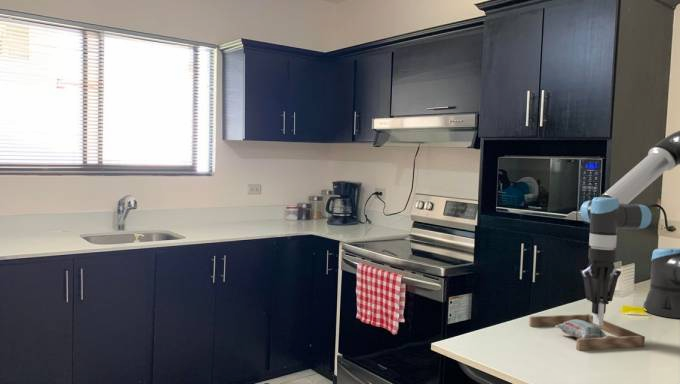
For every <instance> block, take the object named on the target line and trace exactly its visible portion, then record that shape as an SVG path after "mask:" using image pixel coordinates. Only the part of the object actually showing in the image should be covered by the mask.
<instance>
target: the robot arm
mask: <svg viewBox="0 0 680 384" xmlns="http://www.w3.org/2000/svg"><path fill="white" fill-rule="evenodd" d="M677 166H680V130H678V131H677V130H676V131H674V132H673V133H671V134H669V135H668V136H666V137H665V138H663V139H662V140H660V141H659V142H657V143H656V144H655V145H653V147H651V148H650V149H649V150H648V153H647V155H646V156H645V158H643V159H642V160H641V161H640V162H639V163H638V164H636V165H635V166H634V167H632V169H630V170H629V171H628V172H627V173H626V174H624V176H622V177H621V178H620V179H619V180H617V181H616V182H615V183H614V184H613V185H612V186H611V187H610V188H608V189H607V190H606V191H605V192H604V193H602V194H601V196H598V197H597V196H596V197H593V199H591V200H586V201H584V202H583V203H582V205H581V206H580V209H579V212H580V217H581V218H582V220H584V222H587V223H589V239H588V246H589V248H588V256H587V257H588V261H589V262H588V265H587V268H586V269H581V270H580V274H581V276H582V278H583V280H582V281H583V285H584V292H585V297H586V300H587V301H588V302H591V313H592V316H593V323H594V324H597V325H603V320H604V316H605V315H604V314H606V310H607V305H609V304H610V302H612V301H613V298H614V295H615V292H616V287H617V282H618V279H619V277H620V276H621V273H622V271H621V270H617V269H616V268H615V264H614V263H615V262H616V256H617V251H616V248H617V240H618V238H617V237H618V236H617V235H618V230H619V229H633V230H634V229H635V230H638V229H645V228H647V227H648V226H650V224H651V222H652V212H651V210H650V208H649V207H648V206H646V205H644V204H638V203H635V204H629V203H631V201H633V200H634V199H635V198H636V197H638V195H640V194H641V193H642V192H643V191H644V190H646V189H647V188H648V187H649V186H650V185H651V184H652V183H653V182H655V180H657V179H658V178H659V177H660V176H661V175H662V174H664V173H665V172H666V171H667V172H669V171H671V170H673V169H674V168H675V167H677ZM650 262H651V263H650V285H649V290H648V293H647V295H646V299H645V301H643V308H645V309H646V310H647V311H648V312H649V313H648V312H647V313H648V314H652V315H655V316H660V317H665V318H672V319H680V248H671V247H670V248H666V247H665V248H655V249H654V250H653V251H652V256H651V259H650ZM643 308H642V309H643Z"/></svg>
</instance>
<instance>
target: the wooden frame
mask: <svg viewBox="0 0 680 384" xmlns="http://www.w3.org/2000/svg"><path fill="white" fill-rule="evenodd" d="M574 319H578V320H583V321H586V322H588V323H591V324H593V325H596V326H598V327H599V328H600V329H601V330H602V331H603V332H606V333H609V334H610V335H614V336H608V337H607V336H606V337H603V338H583V339H578V338H576V350H577V351H593V350H596V351H597V350H609V349H611V350H613V349H626V348H627V349H629V348H643V347H645V341H646V339H645V338H646V337H645V336H644V335H642V334H639V333H637V332H634V331H631V330H629V329H626V328H624V327H622V326H619V325H616V324H614V323H611V322H609V321H607V320H604V319H603V325H597V324H594V323H593V315H590V314H588V313H586V314H584V313H583V314H562V315H539V316H538V315H537V316H535V315H534V316H529V321H528V324H529V325H528V326H529V327H533V328H534V327H546V326H547V327H548V326H549V327H550V326H551V327H552V326H556V325H559V324H563V323H564V322H566V321H569V320H574Z"/></svg>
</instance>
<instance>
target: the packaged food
mask: <svg viewBox="0 0 680 384" xmlns="http://www.w3.org/2000/svg"><path fill="white" fill-rule="evenodd" d="M554 327H555V328H558V329H560V331H561V332H562V333H564V334H565V335H569V336H571V337H573V338H575V339H583V338H603V337H607V335H606V333H605V331H604V330H602V329H600V328H599V327H598V326H596V325H593V324H591V323H588V322H586V321H583V320H578V319H574V320H569V321H566V322H564V323H563V324H559V325H554Z"/></svg>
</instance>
